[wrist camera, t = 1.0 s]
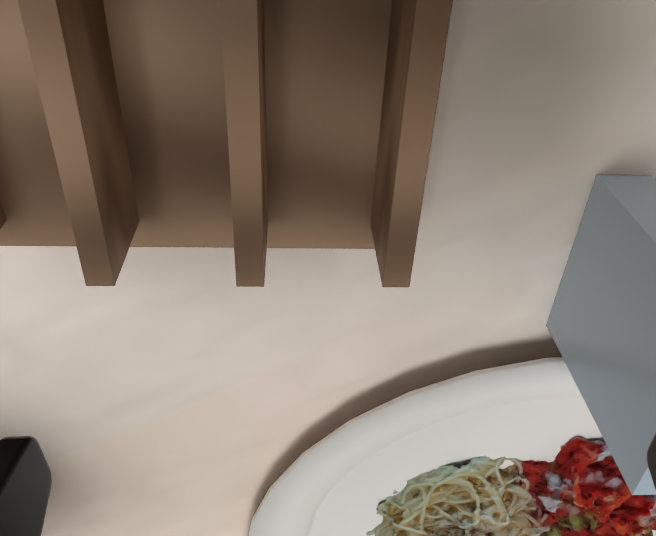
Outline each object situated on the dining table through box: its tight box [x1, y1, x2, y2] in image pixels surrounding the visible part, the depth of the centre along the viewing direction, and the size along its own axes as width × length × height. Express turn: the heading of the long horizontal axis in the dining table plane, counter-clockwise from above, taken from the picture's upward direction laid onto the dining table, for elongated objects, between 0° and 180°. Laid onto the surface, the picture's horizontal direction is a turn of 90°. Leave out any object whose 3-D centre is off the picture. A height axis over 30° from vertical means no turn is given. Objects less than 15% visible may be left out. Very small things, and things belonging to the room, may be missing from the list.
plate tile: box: [546, 175, 656, 495], centre depth 20 cm, size 7×2×8 cm, turn 178°
